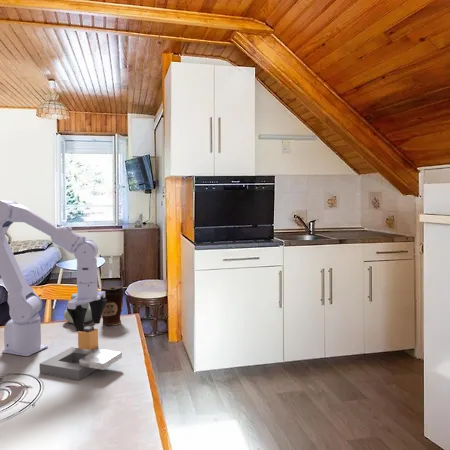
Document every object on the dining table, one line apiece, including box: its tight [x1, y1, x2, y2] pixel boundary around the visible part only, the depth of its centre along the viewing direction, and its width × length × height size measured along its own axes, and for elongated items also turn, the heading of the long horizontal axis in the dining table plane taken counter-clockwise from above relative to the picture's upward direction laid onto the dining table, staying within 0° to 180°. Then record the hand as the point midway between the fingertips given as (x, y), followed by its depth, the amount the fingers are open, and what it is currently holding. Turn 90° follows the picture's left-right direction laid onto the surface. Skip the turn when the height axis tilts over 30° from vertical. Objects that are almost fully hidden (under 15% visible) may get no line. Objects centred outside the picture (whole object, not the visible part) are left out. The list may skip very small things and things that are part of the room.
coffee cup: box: [100, 285, 125, 326], centre depth 142 cm, size 9×8×13 cm
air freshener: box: [63, 292, 92, 325], centre depth 144 cm, size 11×8×10 cm
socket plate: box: [39, 346, 97, 381], centre depth 105 cm, size 12×12×2 cm
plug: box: [77, 325, 99, 350], centre depth 119 cm, size 4×4×6 cm
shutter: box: [78, 348, 123, 371], centre depth 102 cm, size 7×8×2 cm
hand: (88, 326), depth 119 cm, fingers open, 7 cm apart
